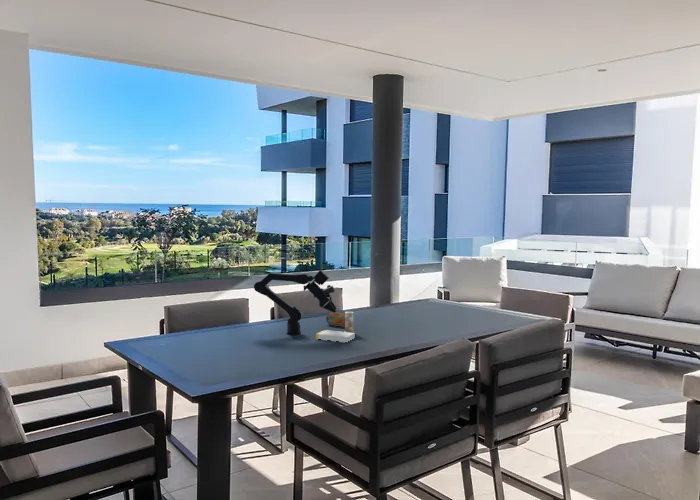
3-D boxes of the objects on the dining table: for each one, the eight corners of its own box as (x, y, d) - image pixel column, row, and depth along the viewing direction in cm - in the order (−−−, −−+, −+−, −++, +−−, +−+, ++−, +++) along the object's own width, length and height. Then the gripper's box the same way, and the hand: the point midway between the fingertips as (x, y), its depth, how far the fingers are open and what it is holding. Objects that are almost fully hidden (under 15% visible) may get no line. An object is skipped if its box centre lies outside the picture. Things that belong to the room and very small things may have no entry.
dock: (316, 339, 289) (316, 333, 289) (324, 335, 299) (324, 329, 299) (346, 342, 282) (346, 337, 281) (354, 338, 292) (354, 333, 292)
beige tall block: (344, 335, 300) (344, 313, 299) (344, 333, 305) (344, 311, 304) (353, 335, 300) (354, 313, 299) (354, 333, 305) (354, 311, 304)
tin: (326, 325, 327) (326, 311, 326) (328, 324, 330) (328, 310, 329) (347, 328, 320) (348, 314, 319) (350, 327, 323) (350, 313, 322)
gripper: (325, 282, 291) (345, 303, 292) (327, 279, 310) (346, 298, 311) (310, 297, 292) (331, 317, 292) (313, 292, 311) (332, 311, 311)
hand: (335, 310), depth 302 cm, fingers open, 9 cm apart
